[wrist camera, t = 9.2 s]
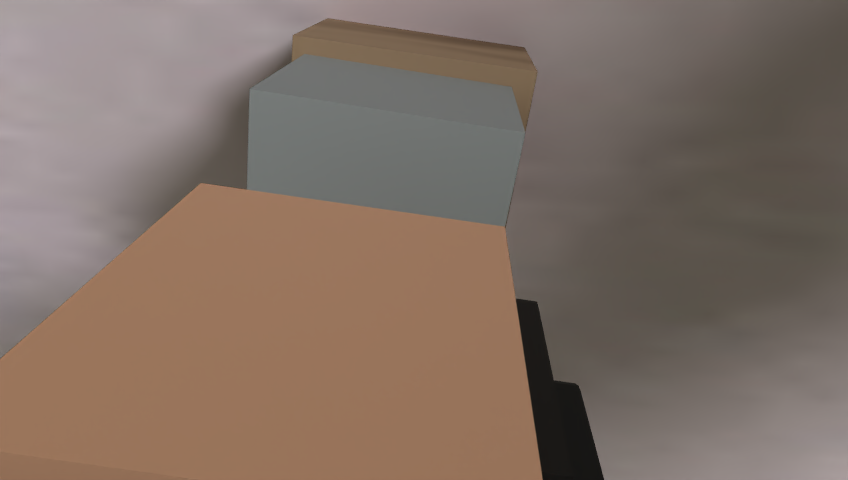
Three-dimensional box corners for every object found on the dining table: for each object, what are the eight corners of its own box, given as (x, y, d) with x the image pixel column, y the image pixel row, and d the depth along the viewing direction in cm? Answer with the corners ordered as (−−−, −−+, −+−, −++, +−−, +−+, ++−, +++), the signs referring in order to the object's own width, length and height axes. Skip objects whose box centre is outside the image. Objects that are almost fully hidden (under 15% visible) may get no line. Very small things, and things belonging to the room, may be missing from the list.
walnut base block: (328, 18, 23) (292, 35, 18) (524, 47, 23) (537, 71, 18) (316, 200, 26) (282, 255, 21) (489, 226, 25) (493, 286, 21)
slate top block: (304, 53, 18) (250, 88, 14) (511, 86, 18) (525, 133, 14) (292, 241, 21) (243, 323, 16) (474, 270, 21) (475, 361, 16)
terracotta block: (201, 182, 10) (-91, 439, 5) (505, 227, 10) (550, 531, 5) (204, 423, 12) (3, 790, 7) (458, 459, 12) (454, 854, 7)
